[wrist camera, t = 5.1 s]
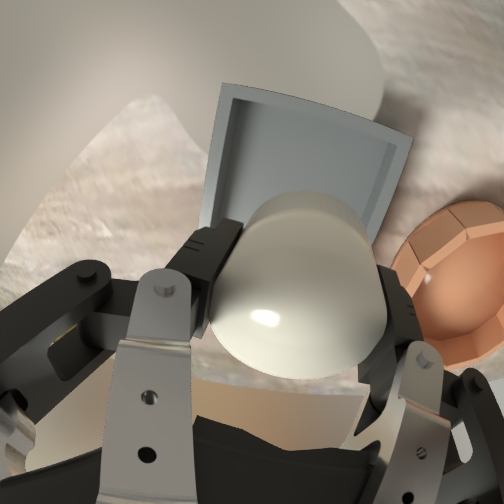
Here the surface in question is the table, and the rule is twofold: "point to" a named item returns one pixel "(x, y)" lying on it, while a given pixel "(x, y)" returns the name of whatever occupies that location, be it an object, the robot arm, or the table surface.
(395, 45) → the table surface
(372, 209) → the tray
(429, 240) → the bowl
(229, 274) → the pebble
